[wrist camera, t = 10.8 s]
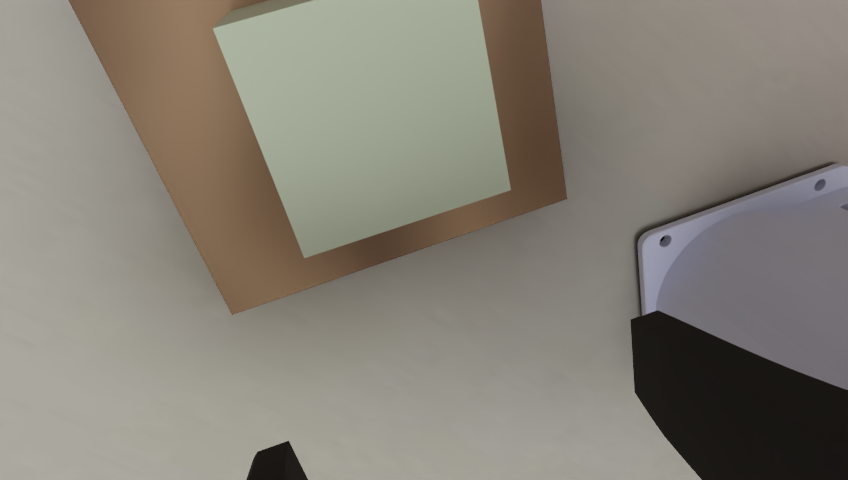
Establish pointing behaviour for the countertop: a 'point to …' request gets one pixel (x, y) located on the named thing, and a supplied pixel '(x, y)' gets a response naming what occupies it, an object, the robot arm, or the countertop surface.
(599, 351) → the countertop surface
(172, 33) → the walnut pad
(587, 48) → the countertop surface
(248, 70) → the sage cube
